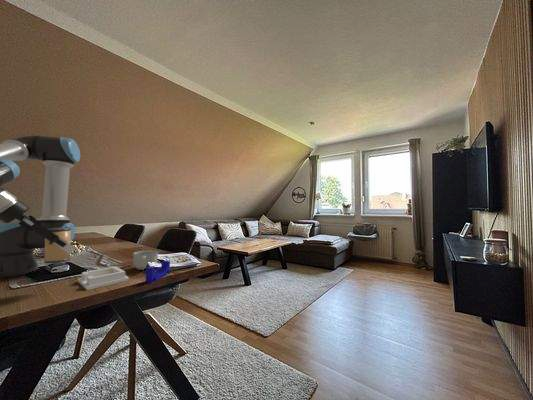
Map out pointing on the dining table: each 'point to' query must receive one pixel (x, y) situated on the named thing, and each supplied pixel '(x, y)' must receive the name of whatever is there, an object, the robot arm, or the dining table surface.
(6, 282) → the dining table surface
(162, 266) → the cable clip
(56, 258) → the tan cylindrical piece
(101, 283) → the holder
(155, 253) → the teacup
